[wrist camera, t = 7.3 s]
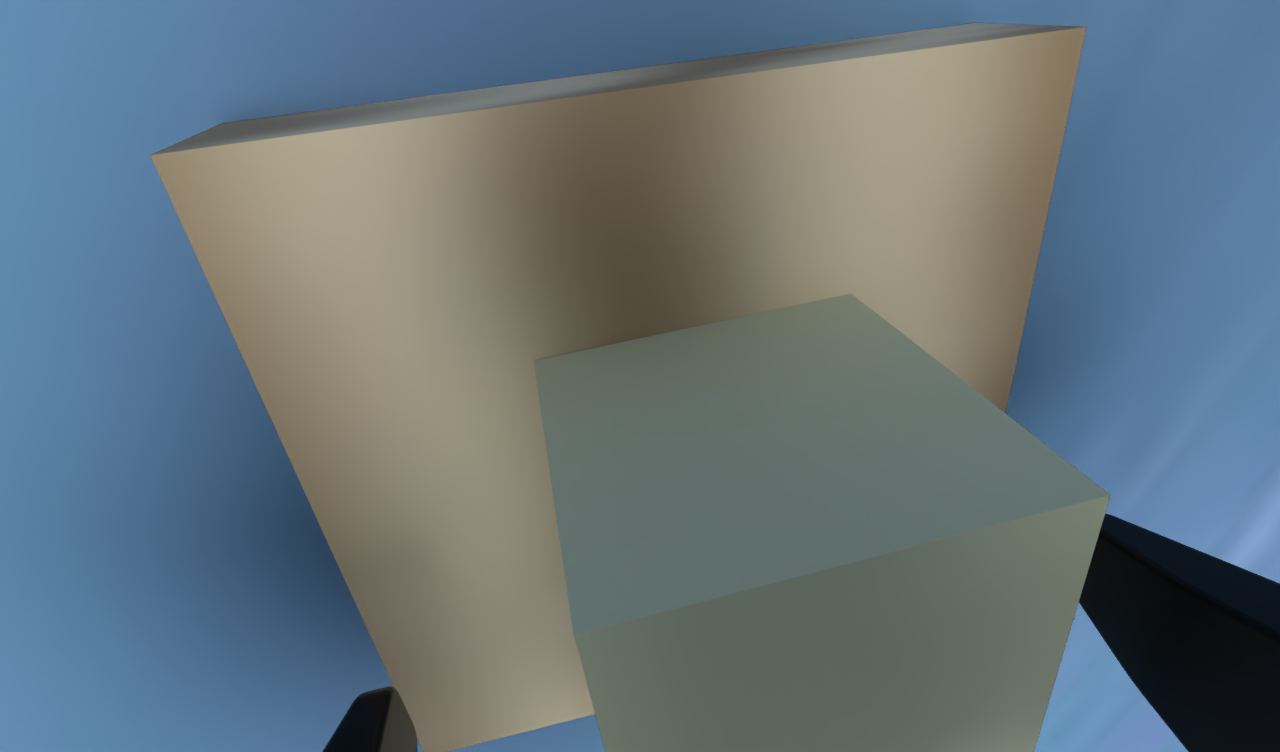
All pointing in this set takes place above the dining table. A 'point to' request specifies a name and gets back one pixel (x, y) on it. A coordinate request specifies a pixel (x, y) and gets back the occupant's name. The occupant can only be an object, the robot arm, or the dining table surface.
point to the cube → (808, 541)
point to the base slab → (591, 292)
